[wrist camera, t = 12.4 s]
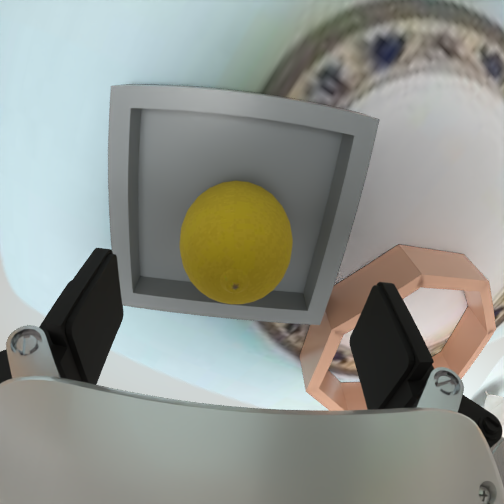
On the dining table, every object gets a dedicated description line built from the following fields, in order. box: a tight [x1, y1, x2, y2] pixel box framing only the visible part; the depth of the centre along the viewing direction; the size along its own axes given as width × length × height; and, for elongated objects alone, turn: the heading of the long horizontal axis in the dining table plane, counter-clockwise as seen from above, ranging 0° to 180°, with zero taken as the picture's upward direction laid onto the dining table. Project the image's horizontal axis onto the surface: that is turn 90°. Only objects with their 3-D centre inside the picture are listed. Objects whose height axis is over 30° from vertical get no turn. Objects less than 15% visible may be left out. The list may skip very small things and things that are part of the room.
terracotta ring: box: [300, 245, 496, 411], centre depth 25 cm, size 17×17×4 cm
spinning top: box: [484, 391, 504, 438], centre depth 30 cm, size 8×8×12 cm
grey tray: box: [108, 84, 379, 325], centre depth 19 cm, size 14×14×3 cm
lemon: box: [180, 181, 293, 304], centre depth 16 cm, size 6×6×8 cm
